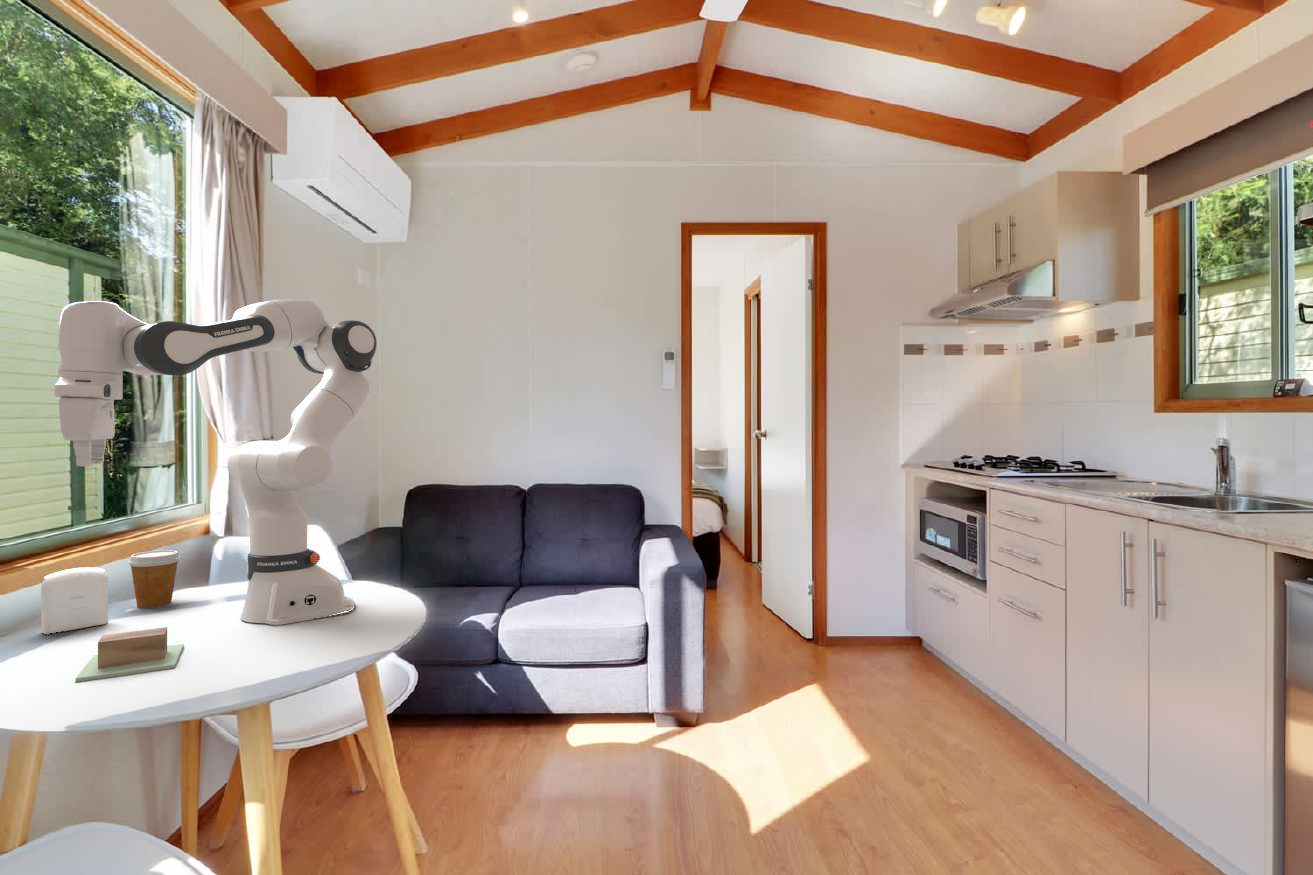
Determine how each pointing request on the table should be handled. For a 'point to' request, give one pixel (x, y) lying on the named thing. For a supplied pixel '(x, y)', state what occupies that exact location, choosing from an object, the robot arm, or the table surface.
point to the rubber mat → (130, 666)
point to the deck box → (132, 647)
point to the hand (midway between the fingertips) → (90, 464)
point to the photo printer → (74, 599)
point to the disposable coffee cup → (154, 577)
